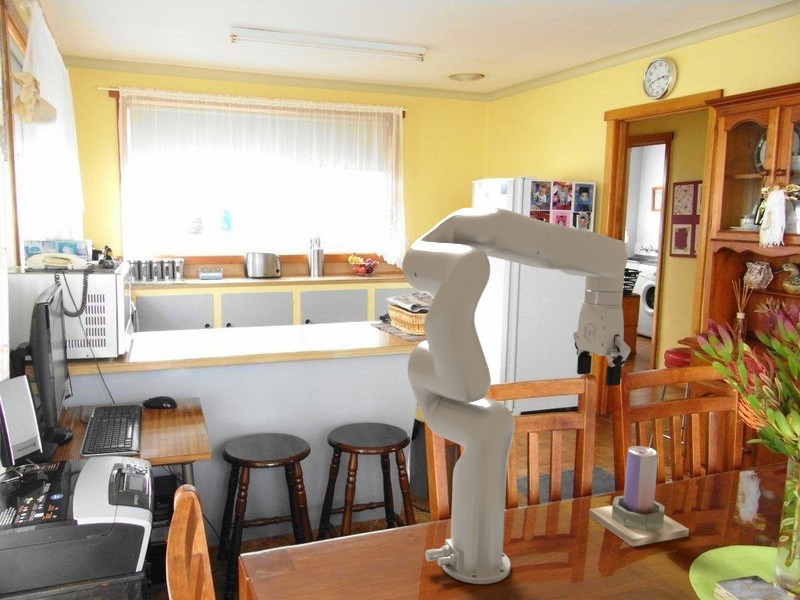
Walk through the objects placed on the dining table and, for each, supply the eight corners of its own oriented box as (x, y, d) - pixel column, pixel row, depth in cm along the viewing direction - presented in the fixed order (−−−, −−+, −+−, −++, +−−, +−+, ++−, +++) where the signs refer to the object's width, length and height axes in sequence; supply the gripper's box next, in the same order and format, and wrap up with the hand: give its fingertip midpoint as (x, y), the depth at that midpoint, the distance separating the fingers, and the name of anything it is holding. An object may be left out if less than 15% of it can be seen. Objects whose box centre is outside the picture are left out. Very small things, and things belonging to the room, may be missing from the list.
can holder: (632, 546, 129) (634, 525, 128) (588, 515, 142) (590, 495, 141) (688, 536, 134) (690, 515, 133) (640, 507, 147) (642, 488, 146)
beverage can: (620, 521, 136) (625, 452, 134) (624, 510, 141) (629, 443, 139) (650, 528, 133) (656, 457, 132) (654, 517, 139) (659, 448, 137)
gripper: (563, 294, 142) (559, 370, 145) (615, 304, 126) (609, 391, 129) (592, 293, 145) (587, 369, 147) (647, 304, 129) (640, 388, 131)
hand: (597, 379), depth 138 cm, fingers open, 9 cm apart
